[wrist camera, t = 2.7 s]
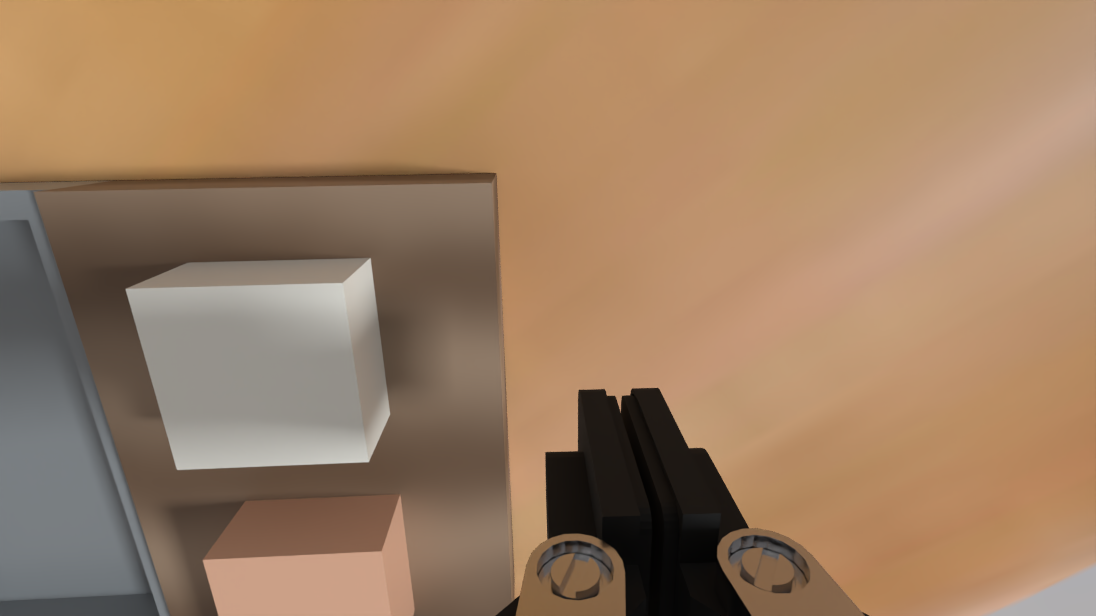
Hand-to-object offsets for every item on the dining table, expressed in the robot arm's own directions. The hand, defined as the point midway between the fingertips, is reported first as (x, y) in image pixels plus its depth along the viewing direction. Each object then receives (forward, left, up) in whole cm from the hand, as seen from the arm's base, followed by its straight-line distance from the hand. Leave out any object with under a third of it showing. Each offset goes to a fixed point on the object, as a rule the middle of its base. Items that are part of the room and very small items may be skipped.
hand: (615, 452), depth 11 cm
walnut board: (+3, -9, -8) cm, 12 cm away
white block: (-1, -9, -5) cm, 10 cm away
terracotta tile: (+7, -9, -5) cm, 13 cm away
